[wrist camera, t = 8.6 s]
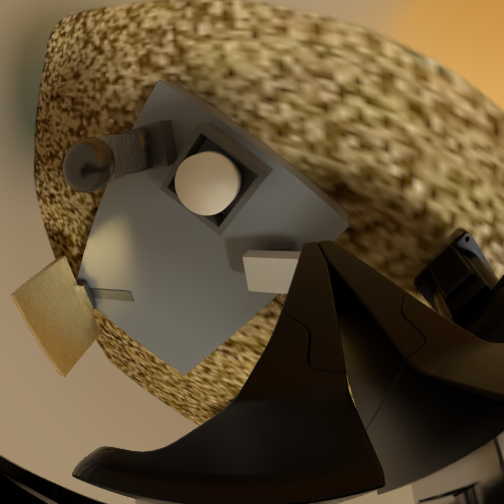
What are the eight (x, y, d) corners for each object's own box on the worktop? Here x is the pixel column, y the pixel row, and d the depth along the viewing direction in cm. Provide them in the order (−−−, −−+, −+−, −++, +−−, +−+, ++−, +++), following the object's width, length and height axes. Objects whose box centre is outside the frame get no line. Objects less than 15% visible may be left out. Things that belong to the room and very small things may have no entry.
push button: (253, 174, 16) (246, 180, 15) (220, 217, 18) (211, 227, 16) (205, 138, 16) (194, 141, 14) (176, 184, 17) (164, 190, 16)
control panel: (347, 212, 19) (353, 236, 16) (192, 360, 31) (179, 387, 27) (175, 82, 18) (144, 78, 14) (87, 277, 29) (65, 297, 25)
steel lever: (151, 126, 16) (94, 125, 8) (159, 164, 17) (110, 195, 9) (120, 135, 16) (46, 145, 7) (128, 172, 17) (62, 210, 9)
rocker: (313, 252, 17) (311, 259, 16) (315, 287, 18) (312, 296, 17) (248, 250, 19) (242, 256, 18) (253, 282, 20) (248, 290, 19)
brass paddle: (74, 252, 24) (18, 296, 17) (109, 331, 28) (70, 379, 21) (59, 253, 25) (6, 293, 18) (93, 327, 29) (54, 372, 22)
